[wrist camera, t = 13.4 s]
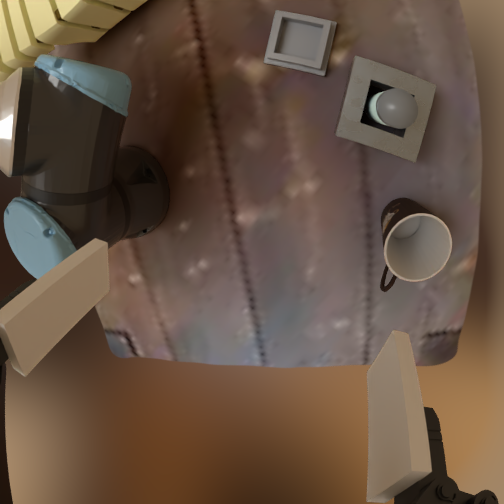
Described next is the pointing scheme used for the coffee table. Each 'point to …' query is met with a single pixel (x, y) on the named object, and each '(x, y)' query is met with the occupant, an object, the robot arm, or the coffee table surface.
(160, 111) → the coffee table surface
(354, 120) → the port block
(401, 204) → the coffee mug
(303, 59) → the grey square open tray
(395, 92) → the plug
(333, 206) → the coffee table surface
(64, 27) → the slatted curved stool
